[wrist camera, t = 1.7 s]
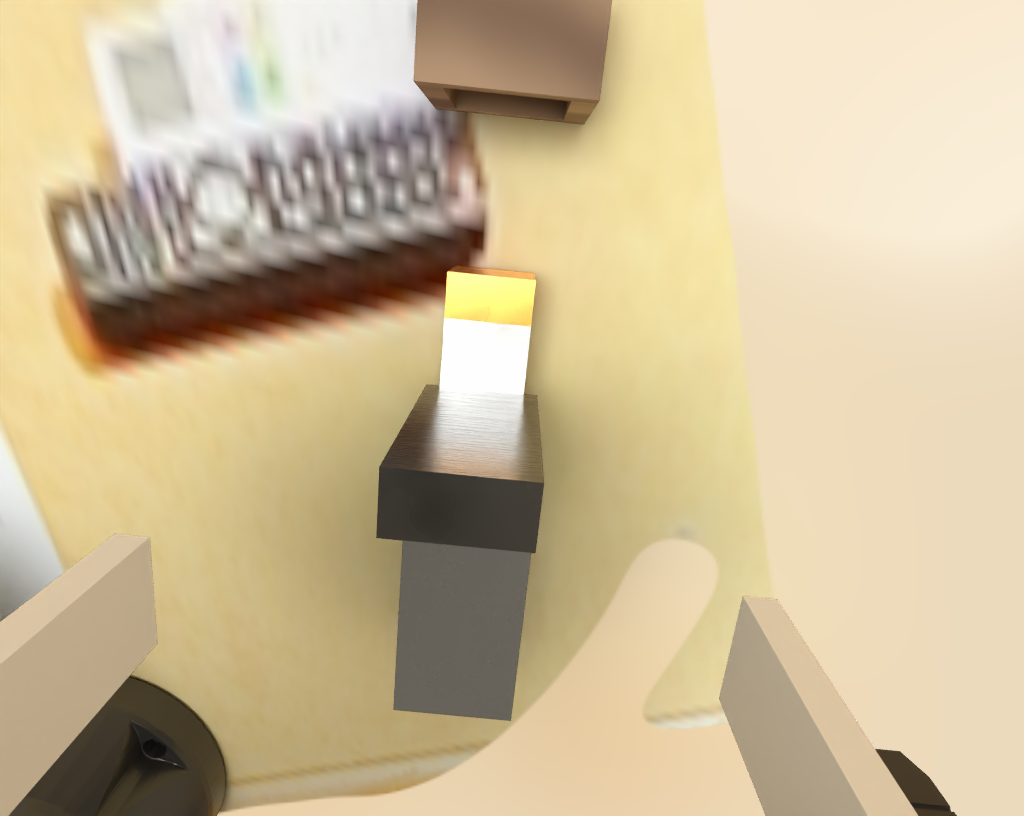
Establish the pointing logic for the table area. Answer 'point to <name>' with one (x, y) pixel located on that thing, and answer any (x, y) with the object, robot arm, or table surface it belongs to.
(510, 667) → the sleeve
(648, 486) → the table surface
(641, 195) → the table surface
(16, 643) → the robot arm
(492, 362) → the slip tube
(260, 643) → the table surface
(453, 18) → the brown block
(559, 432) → the table surface
